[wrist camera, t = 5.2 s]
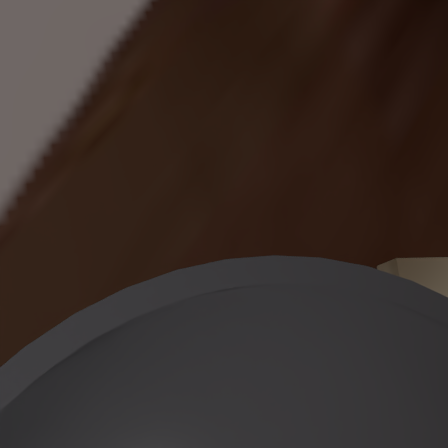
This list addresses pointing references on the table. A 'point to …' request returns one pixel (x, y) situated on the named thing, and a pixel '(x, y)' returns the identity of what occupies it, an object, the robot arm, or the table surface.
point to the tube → (239, 363)
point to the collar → (421, 271)
